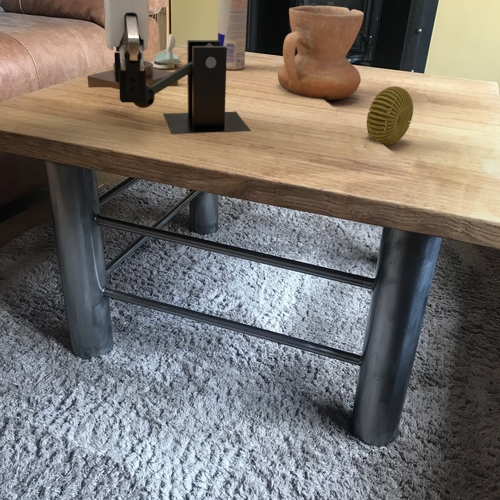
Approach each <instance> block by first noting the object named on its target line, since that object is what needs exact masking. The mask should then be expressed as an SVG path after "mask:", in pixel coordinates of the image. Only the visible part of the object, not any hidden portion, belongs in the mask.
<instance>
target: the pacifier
mask: <svg viewBox="0 0 500 500" xmlns="http://www.w3.org/2000/svg"><path fill="white" fill-rule="evenodd" d="M176 43H177V42H176V37H175V35H173V34H172V33H170V34H169V35H168V38H167V41H166V51H165V50H164V51H161V52H159V53H158V54H157V55H156V56H155V57H154V58H155V59H154V60H151V61H149V62H150V63H152V64H153V68H154V69H159V70H165V69H166V70H167V69H175V68H176V67H175V66H176V65H177V64H178V65H179V64H181V63H182V60H181V59H179V56H178V55H177V54H176V53H174V52H173V50H174V49H175V46H176Z"/></svg>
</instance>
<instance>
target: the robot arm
mask: <svg viewBox="0 0 500 500" xmlns="http://www.w3.org/2000/svg"><path fill="white" fill-rule="evenodd" d="M103 16H104V39H105V44H106V47H107V48H108V49H109V50H110V51H114V48H115V52H113V53H114V54H113V55H114V63H115V80H116V82H117V83H119V89H118V90H119V101H120V102H121V103H123V104H125V103H133V104H134V103H144V102H145V101H146V70H145V69H144V61H145V57H144V51H146V50H147V49H148V47H149V28H150V27H149V26H150V24H149V23H150V0H103Z"/></svg>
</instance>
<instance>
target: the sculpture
mask: <svg viewBox="0 0 500 500" xmlns="http://www.w3.org/2000/svg"><path fill="white" fill-rule="evenodd" d="M413 101H414V100H413V98H412V96H411V94H410V93H409V92H408V91H407V89H405V88H403V87H400V86H389V87H387V88H384V89H383V90H381V91H380V92H379V93H378V94H377V95H376V96H375V97H374V99H373V100H372V102H371V103H370V106H369V109H368V112H367V116H366V130H367V134H368V136H369V138H370V139H371V140H372V141H375V142H378V143H380V144H381V145H382V146H385V147H387V146H392V145H394V144H396V143H398V142H399V141H401V139H402V138H403V137H404V136H405V135H406V134H407V131H408V130H409V128H410V125H411V122H412V119H413V116H414V102H413Z"/></svg>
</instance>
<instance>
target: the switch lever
mask: <svg viewBox="0 0 500 500" xmlns="http://www.w3.org/2000/svg"><path fill="white" fill-rule="evenodd" d="M205 46H212V45H211V44H210V43H208V44H207V45H205ZM172 72H173V73H171V74H170V75H168V76H166V77H165V78H163V79H161V80H160V81H158V82H156V83H155V84H153V85H151V86H149V85H147V84H146V101H145V102H144V103H133V104H134V106H136V107H138V108H140V109H148V108H150V107H151V106H152V105H153V104H154V102H155V100H156V94H158V93H160V92H161V91H163V90H164V89H166V88H168V87H171V86H170V85H171V84H173V83H175V82H176V81H178V82H179V80H181V79H183V78H185V77H186V76H188V74H189V73H191V72H192V61H191V62H189V63H188V64H187V63H186V64H185V65H183V66H181V67H180V68H178V69H176V70H174V71H172Z"/></svg>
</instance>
